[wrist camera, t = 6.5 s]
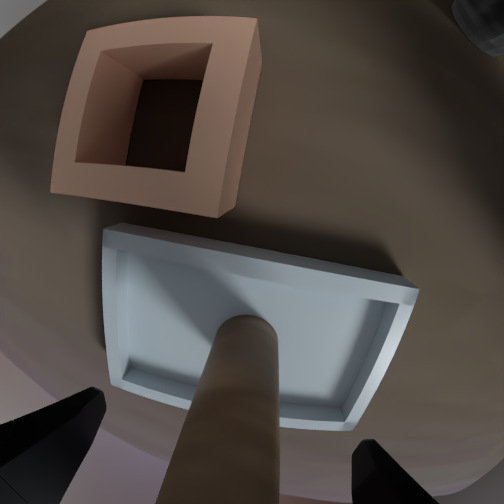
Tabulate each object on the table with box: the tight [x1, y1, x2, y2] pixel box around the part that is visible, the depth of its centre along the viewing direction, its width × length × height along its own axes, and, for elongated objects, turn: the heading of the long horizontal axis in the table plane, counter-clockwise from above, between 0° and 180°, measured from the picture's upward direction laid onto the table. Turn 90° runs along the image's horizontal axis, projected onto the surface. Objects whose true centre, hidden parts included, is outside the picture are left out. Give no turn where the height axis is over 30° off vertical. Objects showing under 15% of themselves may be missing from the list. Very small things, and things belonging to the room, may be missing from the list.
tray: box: [102, 223, 420, 431], centre depth 13 cm, size 14×9×2 cm, turn 80°
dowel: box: [155, 315, 280, 504], centre depth 8 cm, size 3×3×10 cm
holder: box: [50, 16, 262, 218], centre depth 9 cm, size 7×7×4 cm
